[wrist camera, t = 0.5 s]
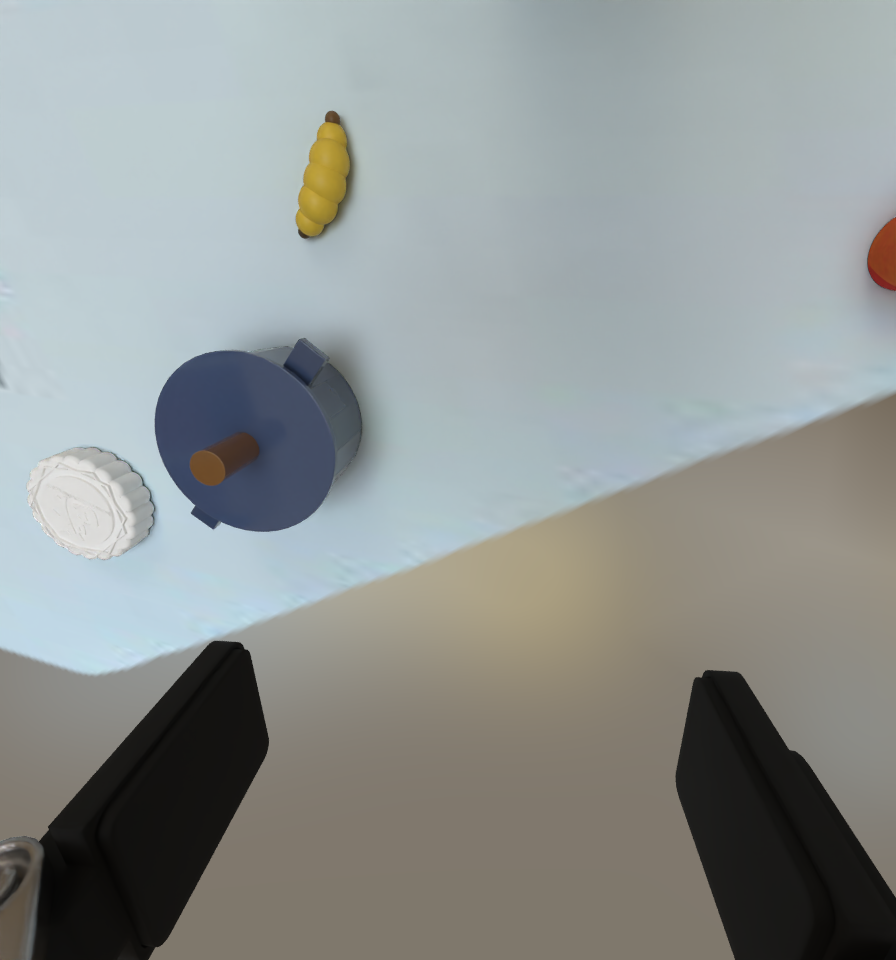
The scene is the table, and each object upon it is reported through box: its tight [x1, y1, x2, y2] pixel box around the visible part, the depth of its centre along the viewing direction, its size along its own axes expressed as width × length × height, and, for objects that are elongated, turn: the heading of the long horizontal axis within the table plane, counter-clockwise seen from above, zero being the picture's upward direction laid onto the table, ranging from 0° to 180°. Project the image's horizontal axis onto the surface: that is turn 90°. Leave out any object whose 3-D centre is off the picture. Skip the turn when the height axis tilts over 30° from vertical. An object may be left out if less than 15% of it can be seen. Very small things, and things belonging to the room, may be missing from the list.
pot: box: [191, 338, 362, 529], centre depth 41 cm, size 14×19×8 cm
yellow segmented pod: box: [296, 111, 350, 239], centre depth 36 cm, size 9×3×3 cm, turn 156°
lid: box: [155, 350, 337, 532], centre depth 35 cm, size 15×15×6 cm
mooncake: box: [26, 447, 154, 560], centre depth 50 cm, size 12×12×4 cm
